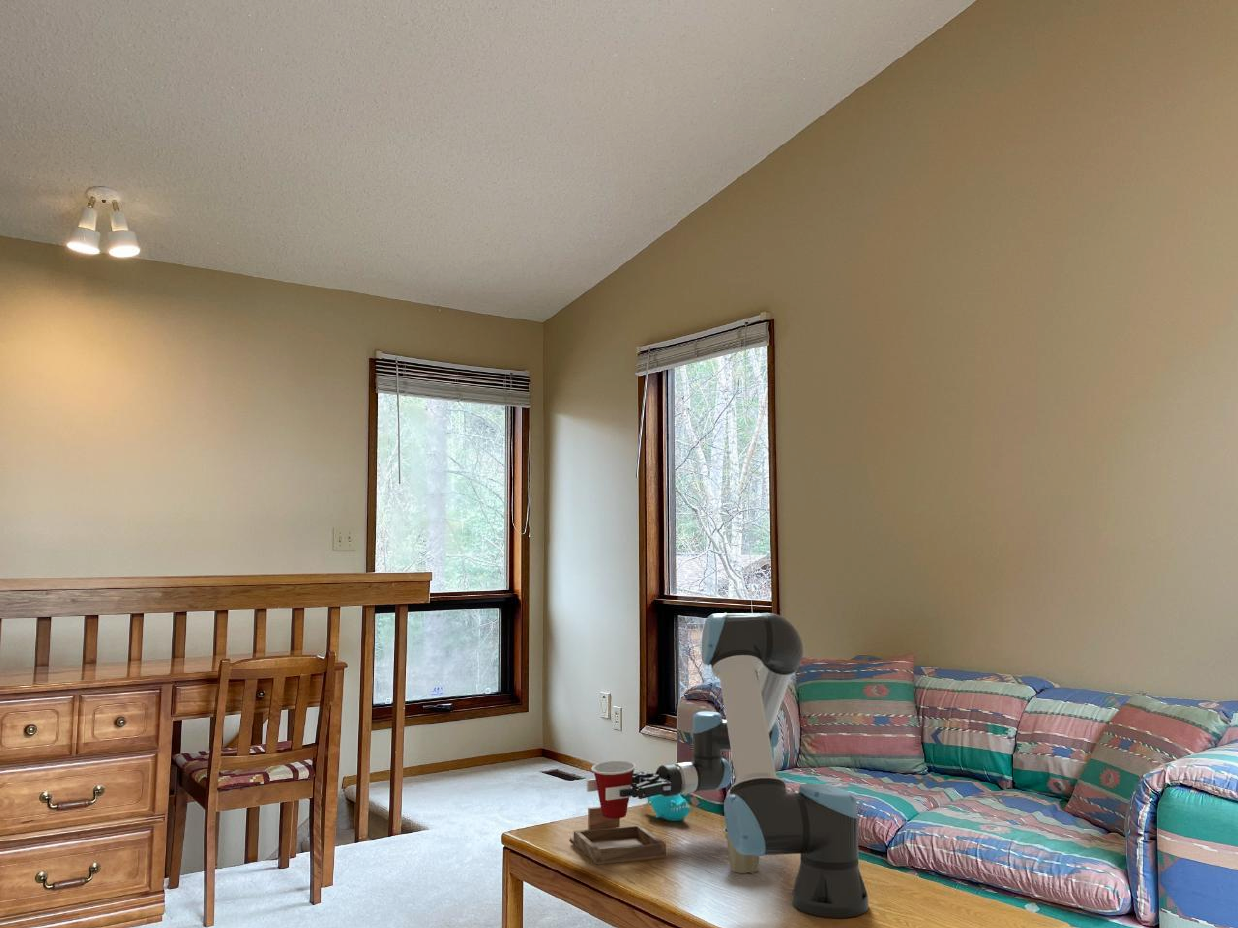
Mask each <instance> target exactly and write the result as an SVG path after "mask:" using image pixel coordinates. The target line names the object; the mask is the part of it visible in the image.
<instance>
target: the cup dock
mask: <svg viewBox="0 0 1238 928" xmlns="http://www.w3.org/2000/svg"><path fill="white" fill-rule="evenodd" d="M587 813H588V815H587V816H588V817H587V829H582V830H573V837H569V841H570V840H571V841H572V842H573V843H574V844H573V843H572V842H571V841H570V842H571V843H572V844H573V845H575V846H576V847H577V849H578V850H580V852H582V853H583V854H584V855H585V856H586V855H587V856H588V857H589V858H590V860H591V861H592V862H593V863H594V862H595V863H594V864H595V865H596V864H598V865H606V864H605V863H607V864H615V863H622V862H623V863H624V862H632V861H634V862H635V861H641V860H649V859H650V860H651V859H659V858H661V859H662V858H666V857H667V844H666V842H664V841H662V840H661V839H659V837H657V836H656V835H654V834H653V833H651V832H650V831H649V830H647V829H646V828H644V827H643V826H642V825H640V824H634V825H623V826H621V824H620V822H621V820H620V819H621V818H616V819H612V818H605V817H603V816H602V812H601V806H595V807H594V806H593V807H588V808H587ZM587 856H586V857H587ZM588 857H587V858H588ZM589 858H588V859H589Z"/></svg>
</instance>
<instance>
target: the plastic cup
mask: <svg viewBox="0 0 1238 928" xmlns="http://www.w3.org/2000/svg"><path fill="white" fill-rule="evenodd" d="M636 767H637V766H636V764H635V763H634V762H631V761H628V760H627V761H626V760H609V761H607V760H606V761H603V762H598V763H596V764H593V765H592V767H591V771H592V773H593V776H594V779H596V783H597V789H598V791H597V793H598V794H597V795H598V799H599V805H600V807H601V812H602V816H603V817H605V818H612V819H616V818H620V819H621V818H624V817H626V816H627V812H628V807H629V802H630V801H629V800H630V797H629V798H622V799H615V800H608V801H607V800H606V788H610V787H618V786H625V785H631V782H632V778H633V773H635V772H634V771H635V769H636Z"/></svg>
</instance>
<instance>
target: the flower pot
mask: <svg viewBox="0 0 1238 928" xmlns="http://www.w3.org/2000/svg"><path fill="white" fill-rule="evenodd" d="M722 831H723V834H725V839H726V841H727V842H726V843H727V849H728V858H729V864H730V869H731V870H732V872H735V873H739V874H747V873H750V874H753V873H756V872H757V871H758V870H759V864H760V858H761V856H756V855H742V854H740V853H739V852H737V851H736V849H735V848H734V847H733V845H732V843H731V841H730V838H729V836H728V832H727V829H726V826H725V827H724V828H723V829H722Z"/></svg>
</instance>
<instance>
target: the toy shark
mask: <svg viewBox="0 0 1238 928" xmlns="http://www.w3.org/2000/svg"><path fill="white" fill-rule="evenodd" d="M646 803H647V804H650V806H651V808H652V810H653V811H654V812H655V813H656V816H655V818H659V817H660V818H662V819H664V820H667V821H671V822H677V821H681V820H683V819H685V818H686V816H688V815H689V813H690V810H691V807H690V804H689V802H688V801H687V800H686V799H685V798H683V797H682V796H681V794H678V795H674V796H667V797H665V796H662V795H661V794H660V795H656V796H652V797H647V802H646Z"/></svg>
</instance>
